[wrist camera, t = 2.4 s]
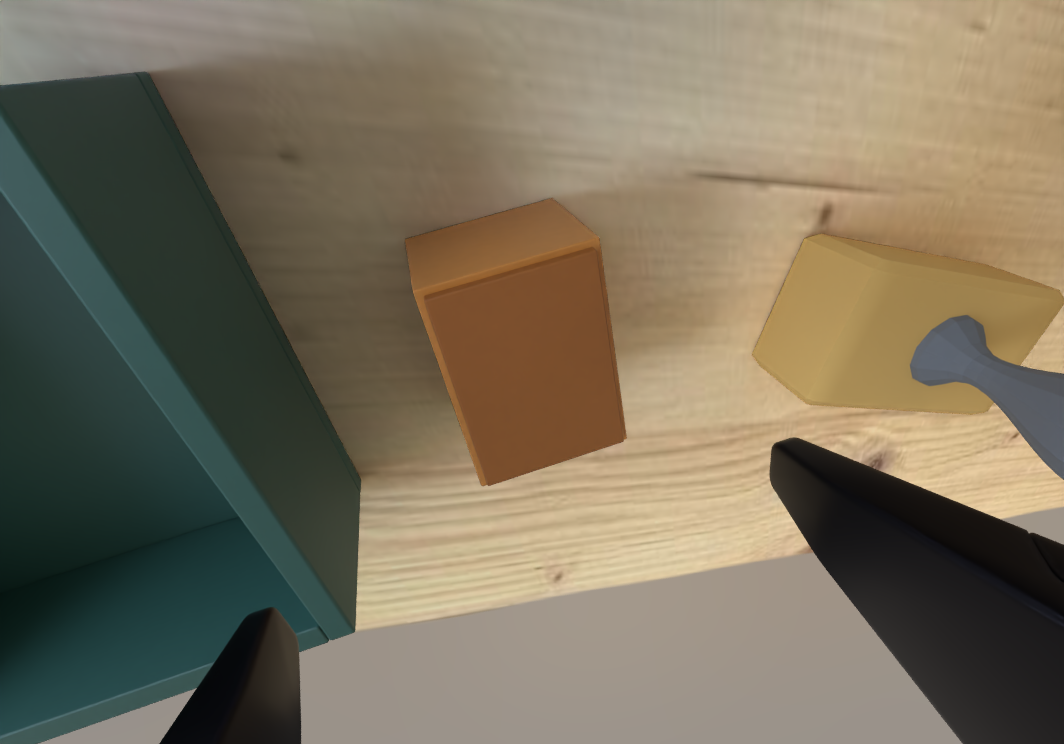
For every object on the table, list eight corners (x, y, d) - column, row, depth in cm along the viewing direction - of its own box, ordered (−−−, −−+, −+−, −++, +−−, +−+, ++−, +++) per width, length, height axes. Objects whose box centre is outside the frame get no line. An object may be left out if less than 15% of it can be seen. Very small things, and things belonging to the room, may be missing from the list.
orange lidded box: (552, 197, 18) (604, 240, 14) (583, 371, 22) (630, 444, 18) (404, 238, 17) (412, 295, 13) (463, 409, 21) (483, 493, 17)
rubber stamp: (985, 263, 24) (1424, 416, 14) (915, 376, 26) (1241, 573, 16) (808, 229, 21) (1210, 396, 11) (748, 361, 23) (1027, 593, 13)
